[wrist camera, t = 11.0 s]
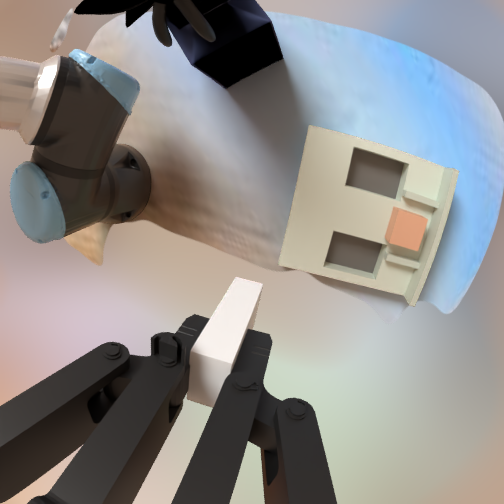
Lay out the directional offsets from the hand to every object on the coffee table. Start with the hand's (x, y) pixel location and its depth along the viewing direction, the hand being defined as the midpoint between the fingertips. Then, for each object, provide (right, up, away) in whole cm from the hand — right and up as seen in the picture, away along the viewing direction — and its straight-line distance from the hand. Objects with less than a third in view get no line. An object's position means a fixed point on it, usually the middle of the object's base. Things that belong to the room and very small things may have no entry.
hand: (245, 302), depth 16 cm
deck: (+18, +9, +28) cm, 35 cm away
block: (+23, +7, +24) cm, 34 cm away
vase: (-2, +35, +23) cm, 42 cm away
